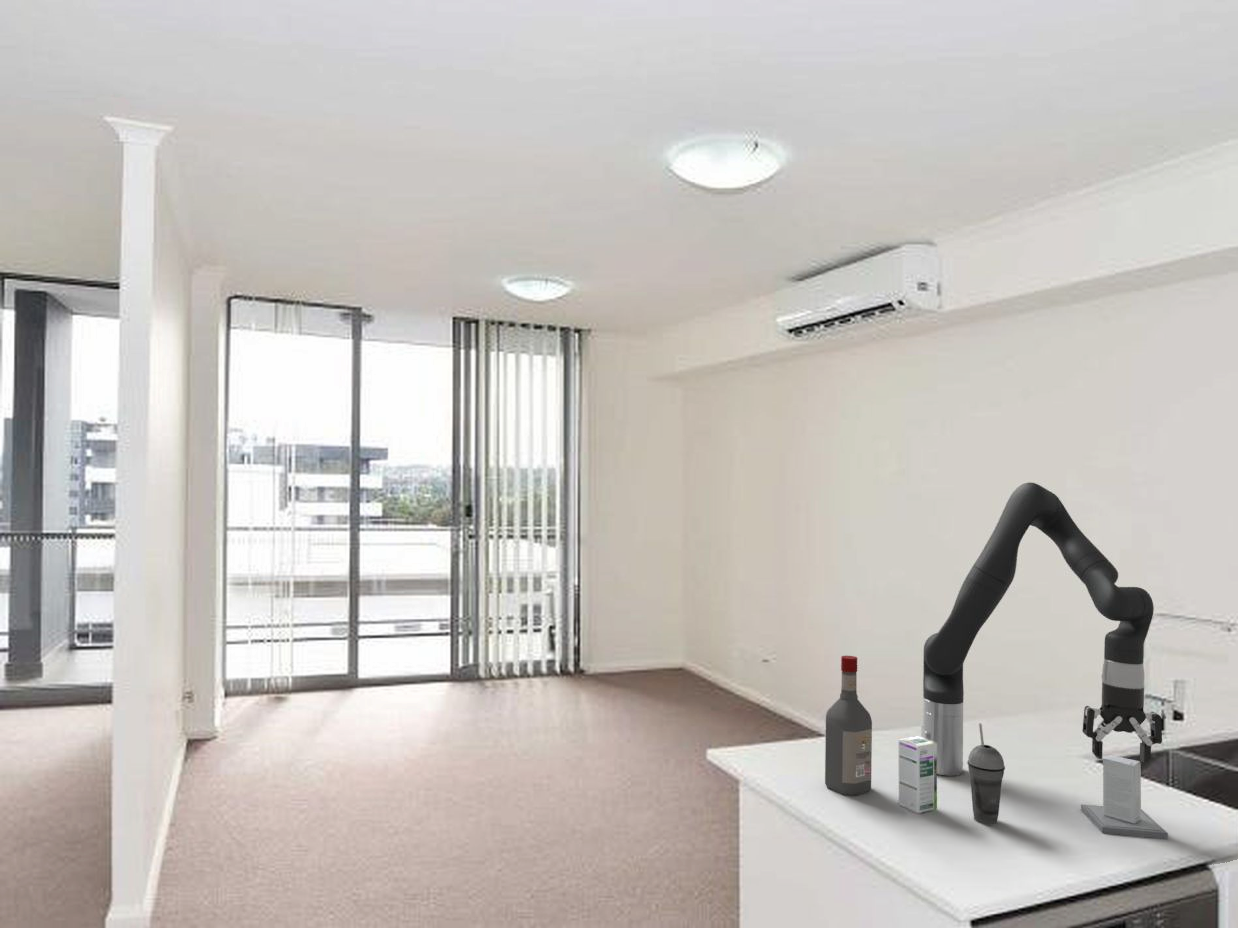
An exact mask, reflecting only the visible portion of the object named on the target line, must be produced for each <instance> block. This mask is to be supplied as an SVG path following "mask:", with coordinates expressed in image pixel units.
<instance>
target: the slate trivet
mask: <svg viewBox="0 0 1238 928" xmlns="http://www.w3.org/2000/svg"><path fill="white" fill-rule="evenodd" d="M1080 811H1081V812H1082V813H1083V814H1084V815H1085V816H1086V817H1087V818H1088V819H1089V821H1091V823H1093V825H1094V826H1095V827H1096V828H1097V829H1098V830H1099V831H1100V832H1101V833H1102V834H1108V835H1109V834H1110V835H1121V836H1131V837H1142V838H1154V839H1165V840H1168V837H1169V833H1168V831H1166V830H1165V829H1164V828H1163V827H1162V826H1161V825H1160V824H1158V823H1157V822H1156V820H1154V819H1153V818H1152V817H1151V816H1149V815H1148V814H1147V813H1146V812H1145V811H1144V810H1143V809H1142V808H1141V819H1140V820H1139V821H1138V822H1136V823H1135V824H1133V823H1130V822H1126V821H1122V820H1119V819H1115V818H1112V817H1108V816H1104V815H1103V805H1094V804H1086V803H1085V804H1083V803H1081V804H1080Z"/></svg>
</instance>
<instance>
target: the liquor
mask: <svg viewBox="0 0 1238 928" xmlns="http://www.w3.org/2000/svg"><path fill="white" fill-rule="evenodd" d="M840 659H841V660H840V670H841V690H840V694H839V698H838V699H837V700H836V701H835V702H834V703H833V704H832V705H831V706H830V707H829V708H828V709H827V711H826V714H825V745H824V746H825V751H824V753H825V754H824V755H825V756H824V757H825V760H824V761H825V762H824V763H825V765H824V766H825V767H824V769H825V770H824V772H825V773H824V784H825V786H826V788H827V789H830V790H832V791H833V792H836V793H839V794H840V795H843V796H853V797H854V796H859V795H863V794H866V793H870V791H871V790H872V763H873V762H872V757H873V756H872V755H873V754H872V751H873V748H872V747H873V744H872V743H873V742H872V741H873V721H872V720H873V719H872V717H871V714H870V712H869V711H868V710H867V708H866V707H865V706H864V705H863V704H862V702H861V701H860V700H859V699H858V698H859V696H858V694H857V693H858V691H857V688H858V687H857V686H858V685H857V684H858V683H857V677H858V676H857V673H858V657H857V656H854V655H841V658H840Z"/></svg>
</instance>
